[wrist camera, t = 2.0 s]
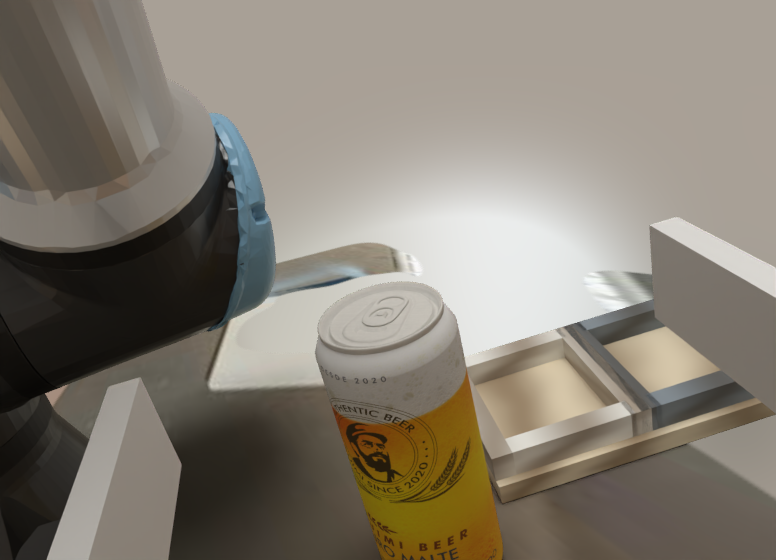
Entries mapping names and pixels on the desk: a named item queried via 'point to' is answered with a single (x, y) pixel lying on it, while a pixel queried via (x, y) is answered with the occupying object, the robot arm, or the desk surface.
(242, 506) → the desk surface
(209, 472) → the desk surface
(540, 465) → the socket board
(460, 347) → the beer can
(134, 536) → the robot arm
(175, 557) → the desk surface
